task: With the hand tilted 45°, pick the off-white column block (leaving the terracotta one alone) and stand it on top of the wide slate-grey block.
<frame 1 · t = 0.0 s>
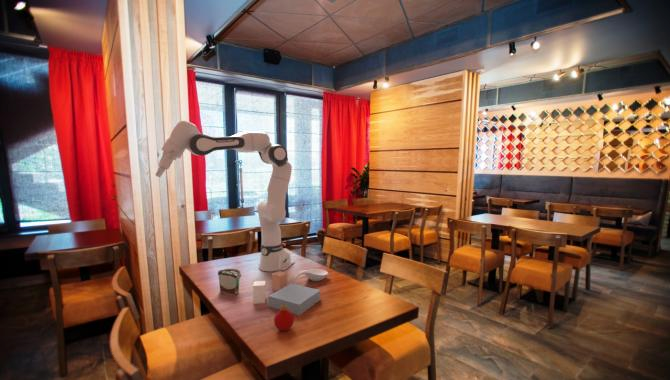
hand: (157, 176, 141), 54 cm above the table, tool tilted 30°, fingers open, 8 cm apart
food container: (232, 291, 142), on the table
spoon rest: (308, 282, 154), on the table
christmas ornament: (284, 329, 109), on the table
terracotta column: (279, 289, 144), on the table
slate plinth block: (294, 304, 130), on the table
off-white column: (259, 300, 132), on the table
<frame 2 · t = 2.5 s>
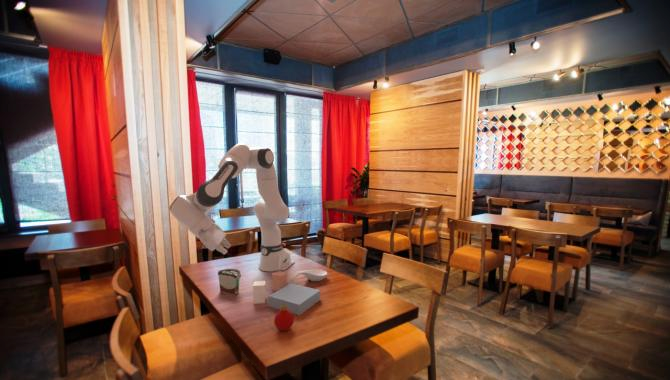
hand: (227, 249, 128), 24 cm above the table, tool tilted 45°, fingers open, 8 cm apart
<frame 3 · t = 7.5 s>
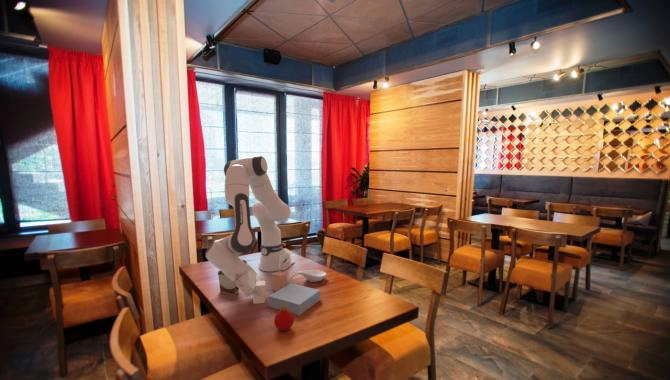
hand: (260, 291, 132), 4 cm above the table, tool tilted 45°, fingers closed on off-white column, 5 cm apart
spoon rest: (306, 283, 154), on the table
off-white column: (259, 300, 132), on the table, touching gripper
everything else where it was.
when the fingers open (11 cm above the table, at t = 12.7 s): off-white column drops 2 cm, resting on slate plinth block.
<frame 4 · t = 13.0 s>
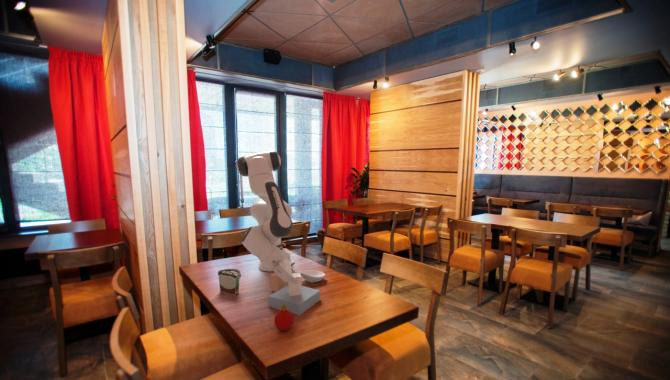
hand: (296, 278, 130), 11 cm above the table, tool tilted 45°, fingers open, 7 cm apart
spoon rest: (304, 283, 153), on the table
slate plinth block: (294, 304, 130), on the table, touching off-white column
off-white column: (294, 293, 130), point 4 cm above the table, touching slate plinth block
everything else where it was.
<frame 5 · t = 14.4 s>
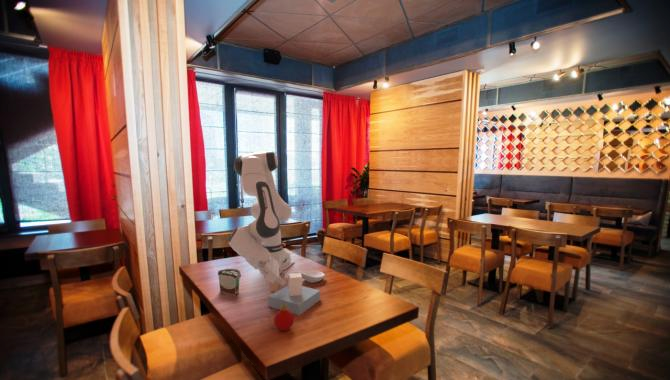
hand: (284, 279, 128), 11 cm above the table, tool tilted 45°, fingers open, 8 cm apart
slate plinth block: (294, 304, 130), on the table
off-white column: (295, 293, 130), point 5 cm above the table
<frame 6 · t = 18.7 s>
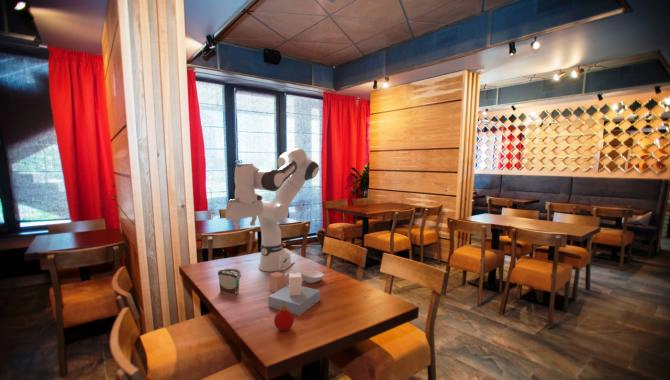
hand: (245, 227, 139), 31 cm above the table, tool pointing down, fingers open, 8 cm apart
at the end: off-white column inside the target area on the slate plinth block (0.4 cm from its centre), point 5.0 cm above the slate plinth block's base; off-white column tilted 0°; the gripper is holding nothing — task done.
